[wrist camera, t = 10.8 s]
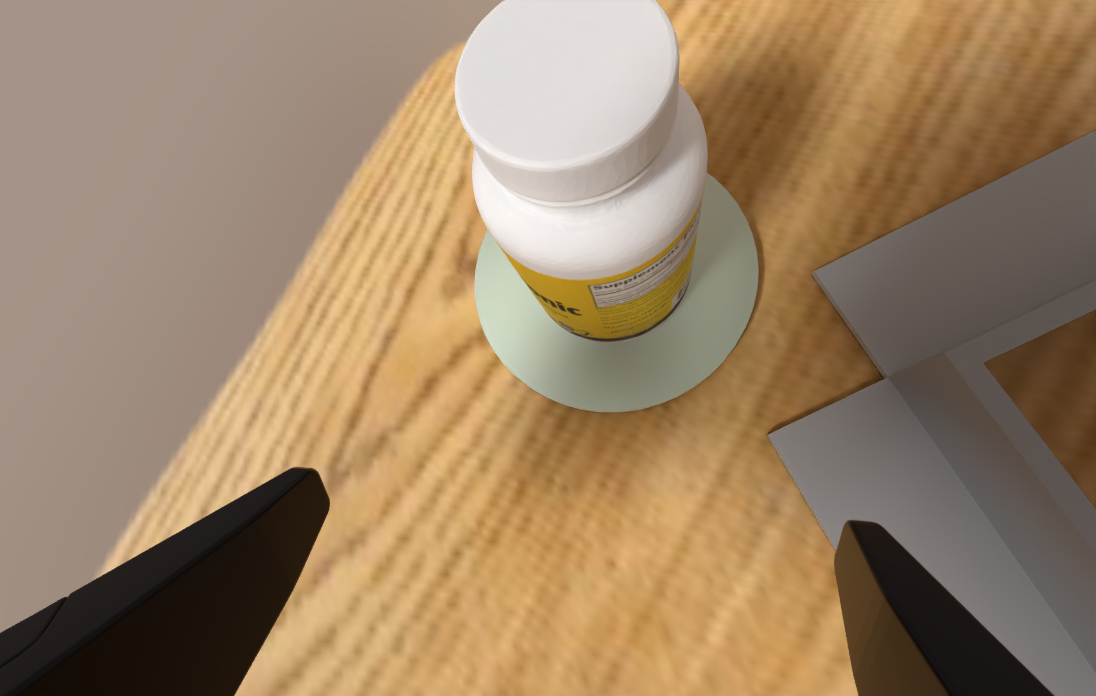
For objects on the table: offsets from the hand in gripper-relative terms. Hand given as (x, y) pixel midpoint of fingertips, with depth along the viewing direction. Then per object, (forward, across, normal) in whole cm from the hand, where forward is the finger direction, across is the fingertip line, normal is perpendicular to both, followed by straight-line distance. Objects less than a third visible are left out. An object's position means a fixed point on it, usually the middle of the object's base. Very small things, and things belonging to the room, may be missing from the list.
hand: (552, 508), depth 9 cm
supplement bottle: (+11, 0, 0) cm, 11 cm away
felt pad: (+12, 0, 0) cm, 12 cm away
